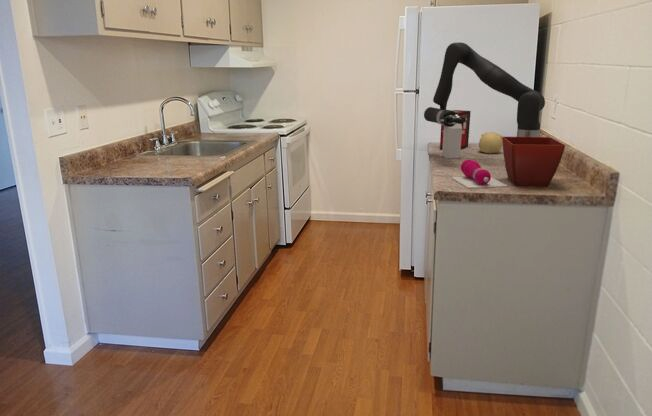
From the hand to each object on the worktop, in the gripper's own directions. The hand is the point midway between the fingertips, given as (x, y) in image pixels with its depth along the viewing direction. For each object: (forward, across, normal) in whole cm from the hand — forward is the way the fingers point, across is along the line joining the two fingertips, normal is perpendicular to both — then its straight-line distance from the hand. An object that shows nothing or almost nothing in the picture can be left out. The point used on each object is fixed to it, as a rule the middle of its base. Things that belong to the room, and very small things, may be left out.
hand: (461, 121), depth 219 cm
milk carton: (-28, +7, +21) cm, 36 cm away
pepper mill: (+14, -2, +17) cm, 22 cm away
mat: (+24, -2, +22) cm, 33 cm away
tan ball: (-37, +32, +21) cm, 53 cm away
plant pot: (+28, +17, +23) cm, 40 cm away
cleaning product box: (-53, +18, +21) cm, 59 cm away
